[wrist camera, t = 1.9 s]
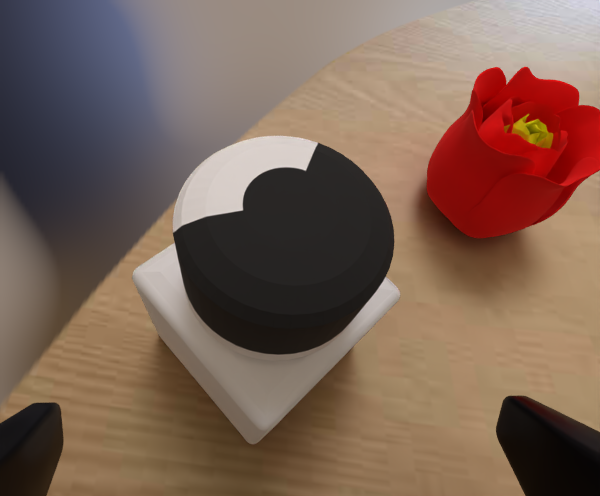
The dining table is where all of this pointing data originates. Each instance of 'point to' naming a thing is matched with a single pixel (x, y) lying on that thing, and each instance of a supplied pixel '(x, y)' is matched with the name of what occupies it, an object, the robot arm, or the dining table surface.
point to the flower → (513, 154)
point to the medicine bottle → (270, 274)
